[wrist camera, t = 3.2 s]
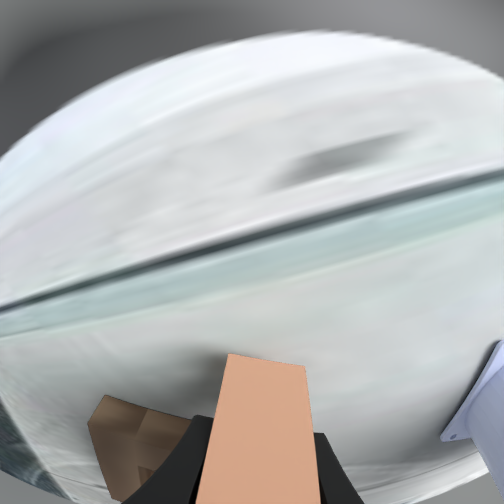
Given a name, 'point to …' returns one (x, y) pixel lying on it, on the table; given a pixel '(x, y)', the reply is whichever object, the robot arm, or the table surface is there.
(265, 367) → the peg
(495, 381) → the robot arm
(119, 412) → the socket
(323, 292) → the table surface
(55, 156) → the table surface
